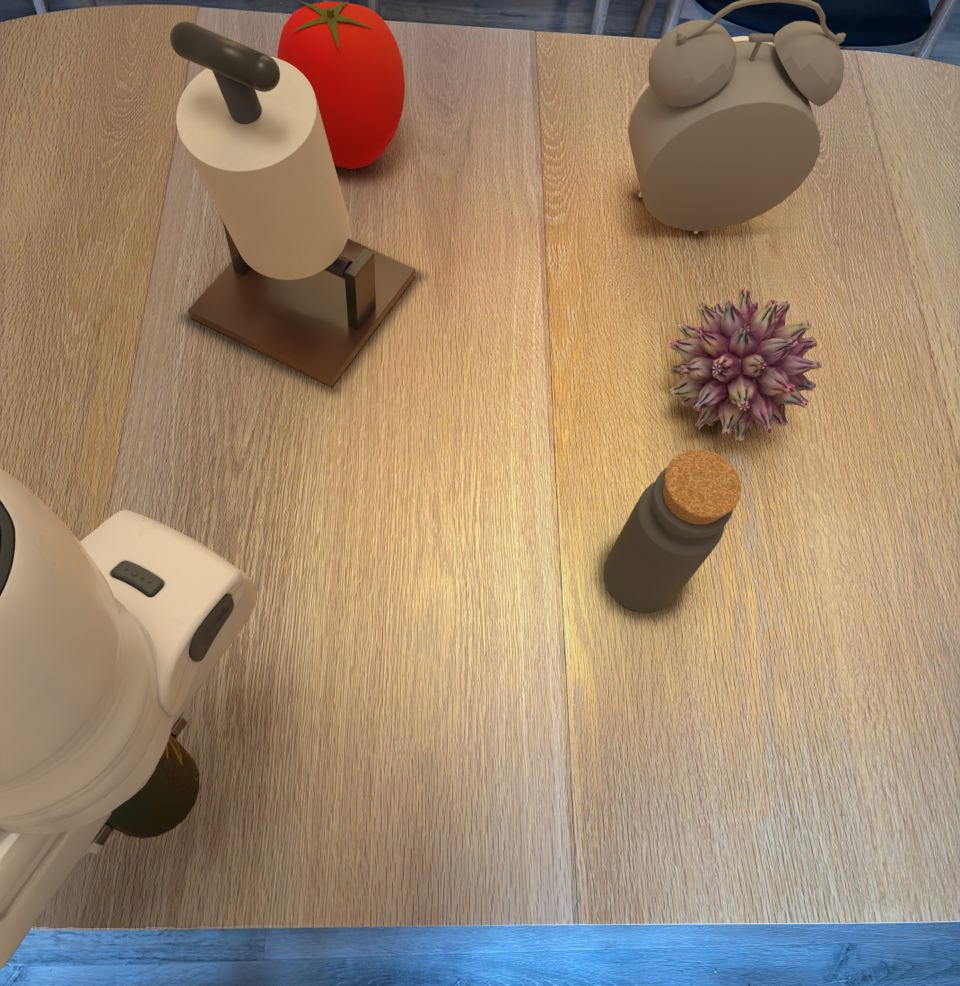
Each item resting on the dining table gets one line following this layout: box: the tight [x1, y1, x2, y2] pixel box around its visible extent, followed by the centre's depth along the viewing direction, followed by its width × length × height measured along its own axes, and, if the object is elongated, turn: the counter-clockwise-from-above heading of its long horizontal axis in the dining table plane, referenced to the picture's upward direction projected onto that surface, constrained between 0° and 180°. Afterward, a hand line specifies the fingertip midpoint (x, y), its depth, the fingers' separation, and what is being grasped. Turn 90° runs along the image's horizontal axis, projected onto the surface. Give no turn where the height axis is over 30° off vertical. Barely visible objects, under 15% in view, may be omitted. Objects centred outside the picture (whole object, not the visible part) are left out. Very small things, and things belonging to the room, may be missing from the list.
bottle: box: [603, 448, 742, 613], centre depth 58 cm, size 6×6×15 cm
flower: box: [668, 288, 822, 442], centre depth 68 cm, size 12×12×12 cm
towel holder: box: [169, 21, 352, 280], centre depth 60 cm, size 22×9×9 cm
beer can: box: [106, 733, 201, 839], centre depth 44 cm, size 5×5×12 cm
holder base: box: [187, 219, 416, 388], centre depth 72 cm, size 14×14×8 cm
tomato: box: [276, 0, 406, 170], centre depth 78 cm, size 13×11×14 cm
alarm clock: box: [626, 0, 847, 235], centre depth 74 cm, size 16×9×22 cm, turn 97°
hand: (134, 774), depth 46 cm, fingers closed on beer can, 5 cm apart
